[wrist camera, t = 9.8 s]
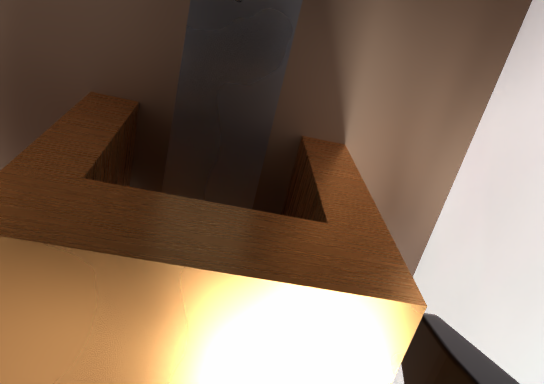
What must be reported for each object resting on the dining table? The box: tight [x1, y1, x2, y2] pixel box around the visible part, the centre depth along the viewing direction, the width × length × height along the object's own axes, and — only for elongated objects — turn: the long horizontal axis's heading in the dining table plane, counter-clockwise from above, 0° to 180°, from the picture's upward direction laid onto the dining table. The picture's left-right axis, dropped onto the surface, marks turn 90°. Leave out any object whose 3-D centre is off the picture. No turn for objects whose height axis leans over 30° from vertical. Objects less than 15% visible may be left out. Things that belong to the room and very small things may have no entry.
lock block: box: [0, 92, 427, 384], centre depth 8 cm, size 6×5×5 cm
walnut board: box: [0, 0, 532, 277], centre depth 10 cm, size 33×15×1 cm, turn 167°
